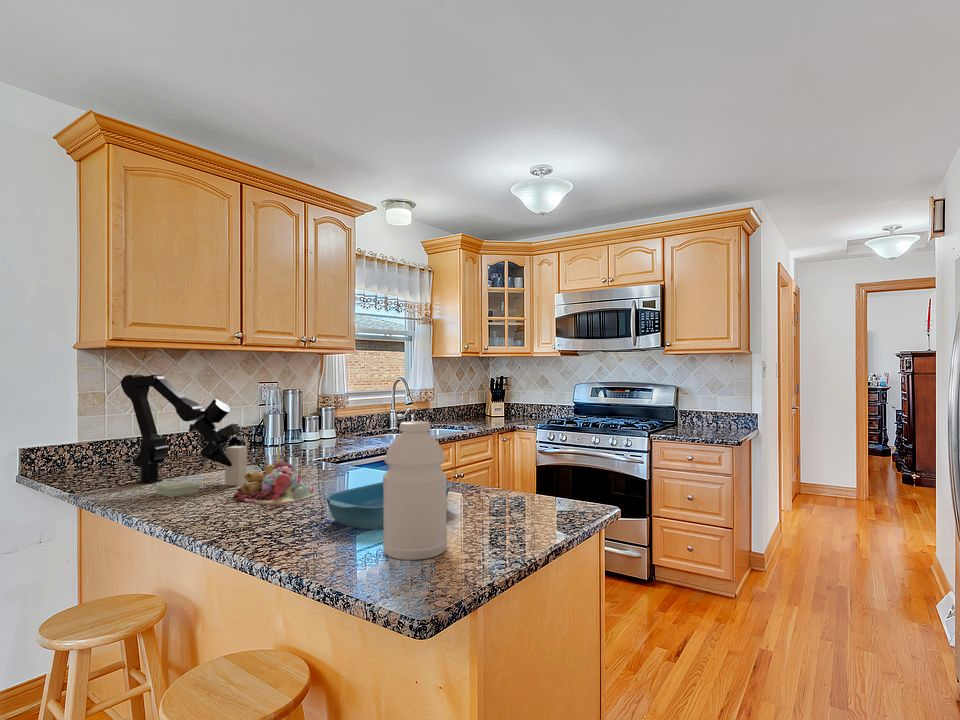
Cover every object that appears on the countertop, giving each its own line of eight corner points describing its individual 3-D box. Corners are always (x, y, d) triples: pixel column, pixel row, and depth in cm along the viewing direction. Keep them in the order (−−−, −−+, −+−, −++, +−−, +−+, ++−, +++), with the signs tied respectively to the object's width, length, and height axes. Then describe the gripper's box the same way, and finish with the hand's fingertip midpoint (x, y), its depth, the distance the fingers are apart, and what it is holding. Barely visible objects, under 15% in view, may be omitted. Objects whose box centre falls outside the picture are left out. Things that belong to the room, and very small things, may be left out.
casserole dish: (366, 539, 127) (366, 509, 127) (308, 524, 141) (308, 496, 141) (464, 508, 157) (464, 483, 157) (408, 497, 170) (408, 475, 170)
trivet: (156, 493, 175) (156, 486, 175) (184, 488, 183) (184, 481, 183) (170, 497, 170) (171, 489, 170) (199, 492, 178) (199, 484, 178)
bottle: (447, 540, 126) (447, 419, 127) (446, 560, 112) (446, 425, 113) (387, 540, 125) (387, 419, 126) (377, 561, 112) (378, 425, 112)
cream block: (225, 485, 189) (225, 447, 189) (233, 482, 194) (233, 445, 194) (238, 485, 188) (239, 447, 189) (246, 482, 193) (246, 446, 194)
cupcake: (287, 484, 190) (288, 450, 191) (263, 484, 190) (264, 449, 191) (296, 479, 199) (296, 446, 199) (273, 479, 199) (273, 446, 199)
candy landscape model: (217, 501, 166) (217, 471, 166) (268, 486, 188) (268, 459, 189) (286, 507, 158) (287, 475, 159) (331, 490, 181) (331, 463, 181)
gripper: (208, 418, 183) (239, 451, 181) (239, 414, 201) (267, 444, 200) (186, 441, 184) (217, 474, 182) (219, 435, 202) (247, 465, 201)
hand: (238, 463), depth 191 cm, fingers open, 9 cm apart
